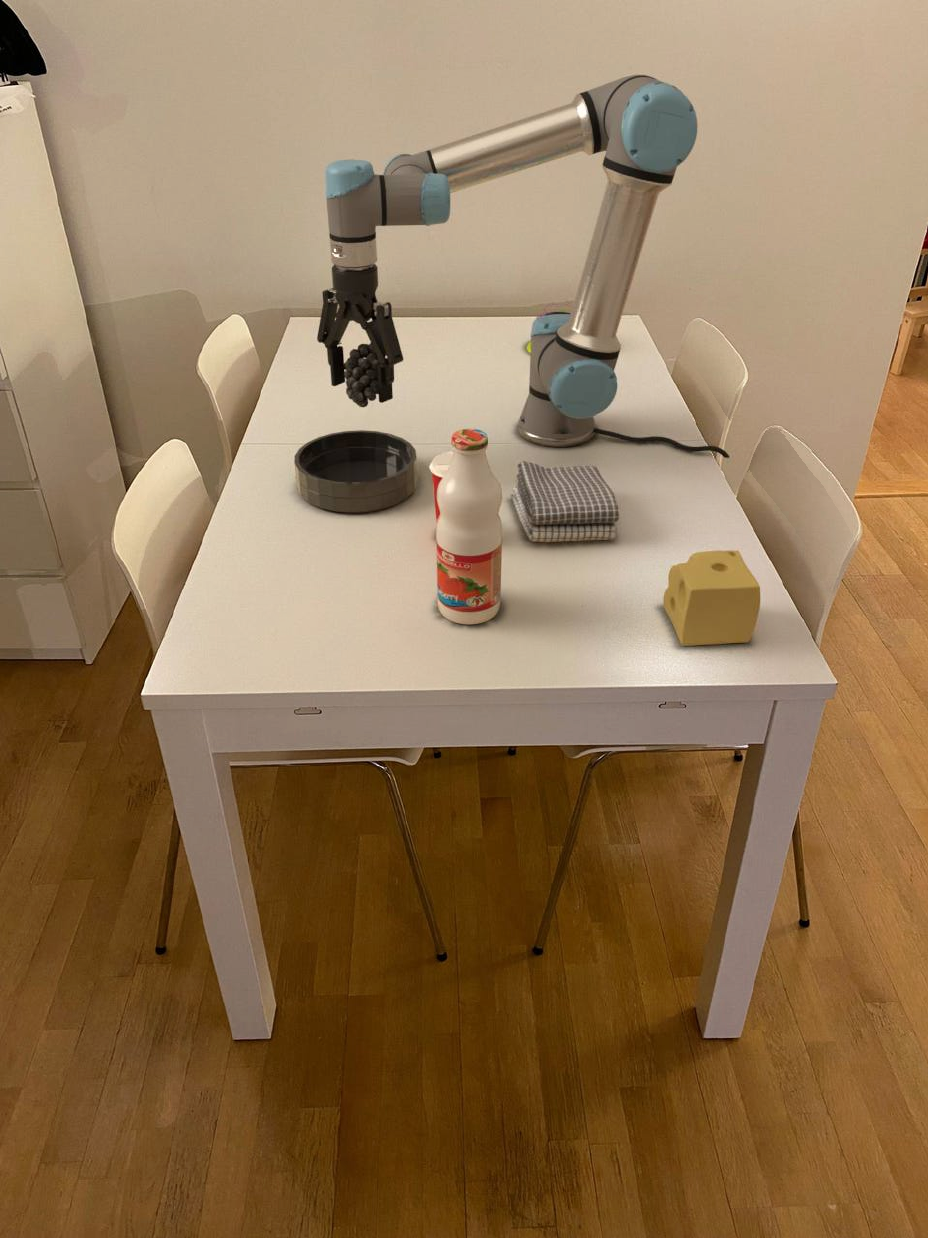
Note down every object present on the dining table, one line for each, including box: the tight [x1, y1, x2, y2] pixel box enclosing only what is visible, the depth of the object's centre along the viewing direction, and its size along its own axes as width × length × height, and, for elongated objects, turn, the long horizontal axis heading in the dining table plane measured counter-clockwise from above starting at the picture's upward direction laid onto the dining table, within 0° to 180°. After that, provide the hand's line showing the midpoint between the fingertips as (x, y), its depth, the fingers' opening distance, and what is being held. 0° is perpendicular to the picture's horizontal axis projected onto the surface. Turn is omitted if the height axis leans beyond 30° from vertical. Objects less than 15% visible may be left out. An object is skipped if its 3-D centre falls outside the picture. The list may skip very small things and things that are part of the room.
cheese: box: [662, 550, 761, 647], centre depth 142 cm, size 10×11×10 cm
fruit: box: [343, 342, 381, 408], centre depth 173 cm, size 9×8×15 cm
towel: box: [510, 460, 620, 543], centre depth 168 cm, size 15×18×8 cm
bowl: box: [294, 429, 418, 514], centre depth 179 cm, size 22×22×6 cm
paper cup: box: [428, 450, 454, 524], centre depth 162 cm, size 8×8×14 cm
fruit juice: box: [435, 428, 503, 625], centre depth 141 cm, size 9×9×28 cm
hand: (361, 391), depth 175 cm, fingers closed on fruit, 11 cm apart
